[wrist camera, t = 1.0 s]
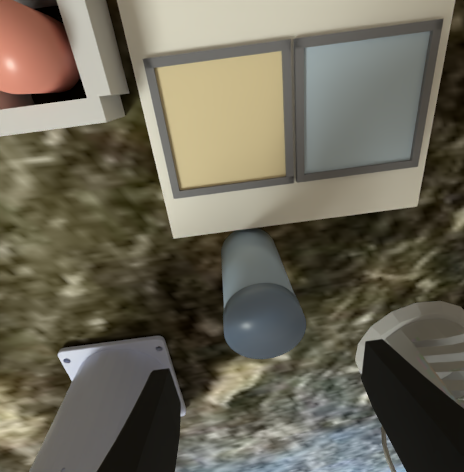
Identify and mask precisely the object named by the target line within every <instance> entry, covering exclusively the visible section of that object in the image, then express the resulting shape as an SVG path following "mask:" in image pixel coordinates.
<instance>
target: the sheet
mask: <svg viewBox="0 0 464 472" xmlns="http://www.w3.org/2000/svg"><path fill="white" fill-rule="evenodd" d="M117 3H118V7H119V12H120V16H121V20H122V24H123V28H124V33H125V37H126V41H127V45H128V49H129V54H130V58H131V62H132V66H133V70H134V75H135V79H136V83H137V87H138V91H139V96H140V100H141V104H142V108H143V112H144V117H145V121H146V125H147V129H148V133H149V138H150V142H151V146H152V150H153V154H154V159H155V163H156V167H157V171H158V175H159V180H160V184H161V188H162V192H163V196H164V201H165V205H166V209H167V213H168V217H169V222H170V226H171V230H172V234H173V238H174V239H175V238H182V237H190V236H197V235H205V234H212V233H220V232H228V231H235V230H243V229H250V228H258V227H266V226H273V225H281V224H288V223H296V222H303V221H311V220H319V219H326V218H334V217H341V216H349V215H356V214H364V213H372V212H379V211H387V210H394V209H402V208H410V207H417V205H418V200H419V194H420V189H421V184H422V178H423V173H424V167H425V162H426V156H427V151H428V146H429V140H430V135H431V129H432V124H433V118H434V113H435V108H436V102H437V97H438V91H439V86H440V80H441V75H442V70H443V64H444V59H445V53H446V48H447V42H448V37H449V32H450V26H451V21H452V15H453V10H454V5H455V0H117Z"/></svg>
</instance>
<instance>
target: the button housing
mask: <svg viewBox="0 0 464 472" xmlns="http://www.w3.org/2000/svg"><path fill="white" fill-rule="evenodd" d="M14 1H16V2H18V3H21V4H23V5H25V6H28V7H30V8H32V9H35V8H43V7H50V6H58V7H59V10H60V14H61V17H62V20H63V23H64V26H65V29H66V33H67V36H68V39H69V42H70V45H71V49H72V52H73V55H74V58H75V61H76V65H77V68H78V71H79V74H80V77H81V81H82V84H83V87H84V90H85V93H86V96H87V98H84V99H76V100H69V101H61V102H54V103H46V104H39V105H35V104H34V102H33V99H32V96H31V94H11V93H6V92H3V91H0V136H7V135H14V134H22V133H29V132H37V131H44V130H52V129H59V128H67V127H74V126H82V125H89V124H97V123H104V122H109V121H112V120H115V119H118V118H121V117H124V116H125V113H124V109H123V105H122V101H121V98H120V95H122V94H129V89H128V85H127V81H126V77H125V73H124V69H123V65H122V61H121V57H120V53H119V49H118V45H117V42H116V38H115V34H114V30H113V26H112V22H111V18H110V14H109V10H108V6H107V2H106V0H14Z"/></svg>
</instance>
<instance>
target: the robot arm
mask: <svg viewBox="0 0 464 472" xmlns="http://www.w3.org/2000/svg"><path fill="white" fill-rule="evenodd" d="M158 346H160V347H158ZM58 357H59V359H60V361H61V363H62V364H63V366H64V368H65V370H66V372H67V373H68V375H69V377H70V379H71V380H72V383H71V385H70V387H69V390H68V392H67V394H66V396H65V398H64V400H63V402H62V404H61V406H60V408H59V410H58V413H57V415H56V417H55V419H54V421H53V423H52V425H51V427H50V429H49V431H48V433H47V435H46V438H45V440H44V442H43V444H42V446H41V448H40V450H39V452H38V454H37V456H36V458H35V461H34V463H33V465H32V467H31V469H30V471H29V472H175V466H176V459H177V451H178V444H179V436H180V416H184V415H185V414H186V406H185V403H184V400H183V397H182V394H181V390H180V387H179V384H178V381H177V377H176V374H175V371H174V368H173V364H172V361H171V358H170V355H169V351H168V348H167V345H166V342H165V339H164V338H163V337H162V336H151V337H143V338H135V339H128V340H120V341H112V342H105V343H97V344H89V345H82V346H74V347H67V348H62V349H61V350H60V351H59V353H58ZM361 379H362V382H363V385H364V387H365V390H366V392H367V395H368V397H369V400H370V402H371V404H372V407H373V409H374V411H375V413H376V415H377V417H378V419H379V421H380V422H381V424H382V426H383V428H384V430H385V432H386V434H387V436H388V438H389V439H390V441H391V443H392V445H393V447H394V449H395V451H396V453H397V454H398V456H399V458H400V460H401V462H402V464H403V466H404V468H405V469H406V471H407V472H464V408H463V407H461V406H460V405H459V404H457V403H456V402H455V401H454V400H452V399H451V398H450V397H449V396H448V395H446V394H445V393H444V392H443V391H442V390H440V389H439V388H438V387H437V386H436V385H434V384H433V383H432V382H431V381H430V380H428V379H427V378H426V377H425V376H424V375H423V374H421V373H420V372H419V371H418V370H417V369H416V368H414V367H413V366H412V365H411V364H410V363H409V362H408V361H407V360H405V359H404V358H403V357H402V356H401V355H400V354H399V353H398V352H396V351H395V350H394V349H393V348H392V347H391V346H390V345H389V344H388V343H386V342H385V341H384V340H383V339H379V340H371V341H365V350H364V358H363V367H362V376H361Z"/></svg>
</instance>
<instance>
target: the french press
mask: <svg viewBox="0 0 464 472" xmlns="http://www.w3.org/2000/svg"><path fill="white" fill-rule="evenodd" d="M379 339H383V340H384V341H385V342H386V343H388V344H389V345H390V346H391V347H392V348H393V349H394V350H395V351H396V352H398V353H399V354H400V355H401V356H402V357H403V358H404V359H405V360H407V361H408V362H409V363H410V364H411V365H412V366H413V367H414V368H416V369H417V370H418V371H419V372H420V373H421V374H423V375H424V376H425V377H426V378H427V379H428V380H430V381H431V382H432V383H433V384H434V385H436V386H437V387H438V388H439V389H440V390H442V391H443V392H444V393H445V394H446V395H448V396H449V397H450V398H451V399H452V400H454V401H455V402H456V403H457V404H459V405H460V406H461V407H463V408H464V400H457V398H460V397H464V310H463V309H462V308H461V307H460V306H457V305H453V304H450V303H447V302H443V301H432V302H418V303H414V304H411V305H409V306H406V307H403V308H400V309H398V310H395V311H392V312H390V313H389V314H388V315H386V316H385V317H383V318H382V319H381V320H379V321H378V322H376V323H375V324H374V325H372V326H371V327H370V328H369V330H368V331H367V332H366V334H365V335H364V337H363V338H362V339H361V341H360V342H359V343H358V348H357V353H356V357H355V361H356V363H357V366H358V369H359V371H360V373H361V374H362V367H363V358H364V350H365V341H371V340H379ZM381 432H382V445H383V450H384V454H385V458H386V460H387V463H388V465H389V467H390V469H391V472H396V470H395V468H394V466H393V463H392V461H391V458H390V455H389V451H388V448H387V443H386V432H385V430H384V428H383V426H382V428H381Z"/></svg>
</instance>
